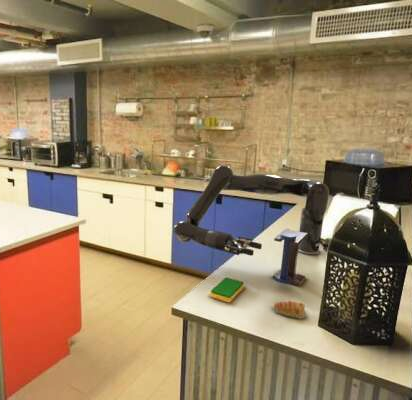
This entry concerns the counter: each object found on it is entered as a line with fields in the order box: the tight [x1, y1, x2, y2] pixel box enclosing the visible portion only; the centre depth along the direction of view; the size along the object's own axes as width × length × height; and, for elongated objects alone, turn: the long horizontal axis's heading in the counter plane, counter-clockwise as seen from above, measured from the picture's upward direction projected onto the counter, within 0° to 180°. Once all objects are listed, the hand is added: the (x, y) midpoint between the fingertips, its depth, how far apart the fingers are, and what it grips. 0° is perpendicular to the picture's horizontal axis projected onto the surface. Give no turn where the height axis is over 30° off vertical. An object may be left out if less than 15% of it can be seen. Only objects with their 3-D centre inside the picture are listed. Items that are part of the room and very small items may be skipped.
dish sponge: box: [210, 277, 245, 303], centre depth 134 cm, size 7×14×2 cm, turn 143°
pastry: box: [272, 300, 306, 320], centre depth 121 cm, size 9×7×4 cm
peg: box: [274, 231, 296, 285], centre depth 136 cm, size 6×6×18 cm
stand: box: [272, 228, 308, 287], centre depth 140 cm, size 15×10×19 cm, turn 141°
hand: (257, 249), depth 142 cm, fingers open, 8 cm apart
